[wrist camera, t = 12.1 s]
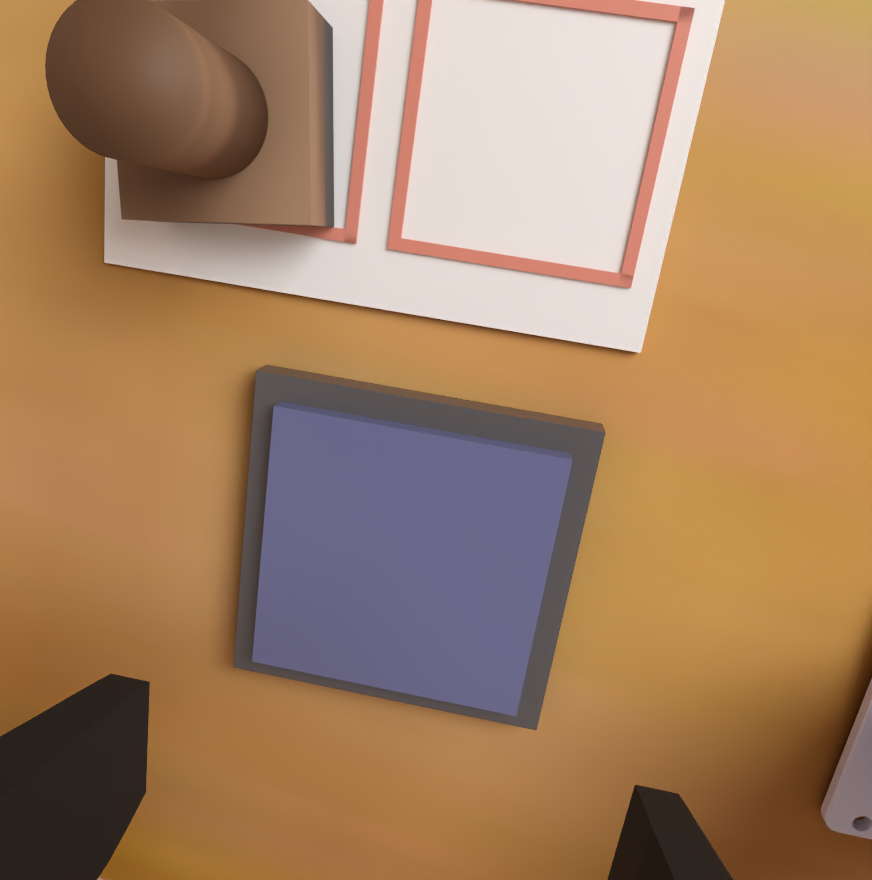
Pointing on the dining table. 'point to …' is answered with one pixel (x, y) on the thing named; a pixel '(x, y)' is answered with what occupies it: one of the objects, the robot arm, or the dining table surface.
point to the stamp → (203, 106)
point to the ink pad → (409, 543)
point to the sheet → (481, 167)
